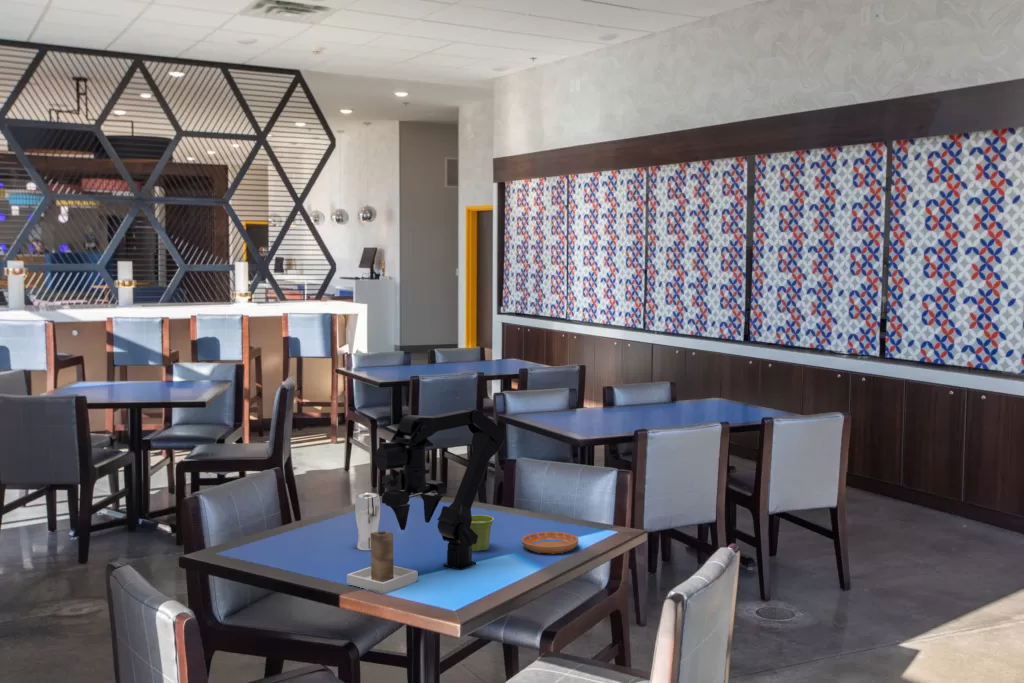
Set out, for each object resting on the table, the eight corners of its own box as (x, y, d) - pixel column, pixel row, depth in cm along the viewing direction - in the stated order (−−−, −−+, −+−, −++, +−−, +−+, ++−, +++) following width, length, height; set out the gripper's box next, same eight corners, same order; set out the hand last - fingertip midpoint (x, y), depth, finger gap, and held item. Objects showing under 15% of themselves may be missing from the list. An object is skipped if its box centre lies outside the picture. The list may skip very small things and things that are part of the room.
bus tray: (382, 572, 247) (381, 562, 247) (417, 581, 240) (417, 571, 239) (346, 584, 237) (346, 574, 237) (383, 594, 230) (382, 583, 229)
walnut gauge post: (385, 577, 241) (384, 529, 240) (393, 581, 238) (393, 532, 237) (371, 580, 239) (370, 531, 238) (379, 584, 235) (379, 535, 235)
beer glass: (380, 550, 268) (380, 497, 267) (355, 551, 267) (355, 498, 266) (380, 543, 275) (379, 492, 274) (355, 544, 273) (354, 493, 273)
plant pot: (454, 551, 267) (454, 520, 266) (470, 543, 275) (470, 513, 275) (484, 555, 263) (484, 524, 262) (499, 546, 271) (499, 516, 271)
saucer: (512, 552, 266) (512, 541, 266) (537, 538, 281) (537, 528, 280) (564, 559, 259) (564, 548, 259) (587, 545, 273) (587, 535, 273)
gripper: (415, 456, 254) (416, 514, 255) (365, 467, 239) (366, 529, 240) (447, 461, 248) (448, 520, 249) (398, 472, 233) (398, 535, 234)
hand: (415, 526), depth 243 cm, fingers open, 9 cm apart
